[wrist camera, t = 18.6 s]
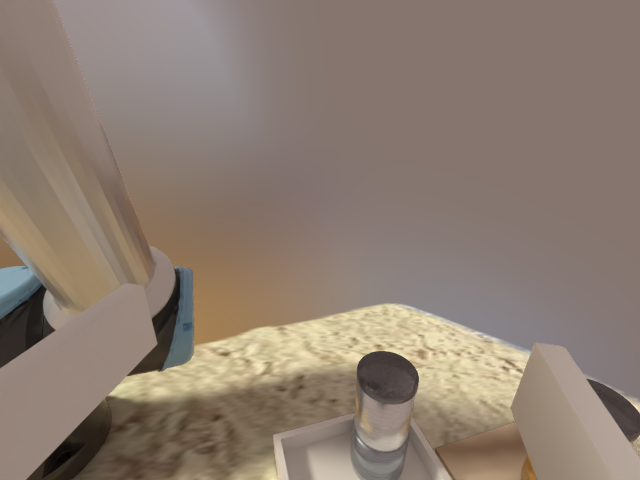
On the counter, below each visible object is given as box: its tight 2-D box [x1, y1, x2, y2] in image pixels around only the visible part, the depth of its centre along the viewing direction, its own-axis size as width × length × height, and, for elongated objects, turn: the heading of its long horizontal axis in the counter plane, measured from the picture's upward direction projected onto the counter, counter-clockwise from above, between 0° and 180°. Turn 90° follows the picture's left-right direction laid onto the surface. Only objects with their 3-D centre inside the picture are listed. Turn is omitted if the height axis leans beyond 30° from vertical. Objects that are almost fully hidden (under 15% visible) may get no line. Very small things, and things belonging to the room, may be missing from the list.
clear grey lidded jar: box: [350, 351, 419, 480], centre depth 36 cm, size 6×6×14 cm
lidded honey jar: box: [520, 379, 640, 480], centre depth 32 cm, size 6×6×14 cm
